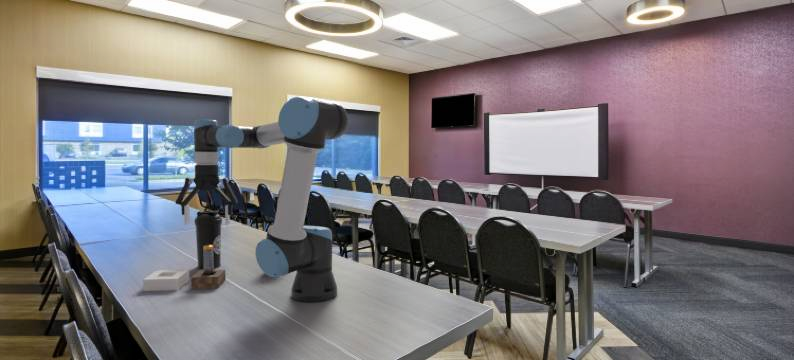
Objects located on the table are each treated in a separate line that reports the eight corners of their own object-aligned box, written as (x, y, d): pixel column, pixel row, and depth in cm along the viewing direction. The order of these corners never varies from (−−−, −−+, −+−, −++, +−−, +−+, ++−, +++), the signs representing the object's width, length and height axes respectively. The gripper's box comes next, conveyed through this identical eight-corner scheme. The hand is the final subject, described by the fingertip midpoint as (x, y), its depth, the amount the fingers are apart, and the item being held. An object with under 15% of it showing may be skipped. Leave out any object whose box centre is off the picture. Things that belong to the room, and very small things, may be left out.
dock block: (189, 280, 154) (189, 269, 154) (177, 290, 143) (177, 278, 143) (157, 280, 153) (157, 270, 153) (143, 291, 142) (143, 279, 142)
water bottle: (216, 269, 168) (215, 212, 166) (190, 269, 168) (189, 212, 166) (226, 263, 178) (225, 209, 176) (202, 262, 178) (201, 208, 176)
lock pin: (214, 282, 152) (214, 244, 151) (212, 285, 149) (211, 246, 148) (205, 283, 151) (205, 244, 150) (202, 285, 148) (202, 246, 147)
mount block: (225, 280, 155) (225, 269, 155) (218, 288, 146) (218, 276, 146) (199, 280, 154) (199, 270, 154) (191, 288, 145) (191, 277, 145)
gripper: (246, 164, 152) (246, 222, 154) (173, 163, 149) (174, 222, 151) (241, 165, 145) (241, 225, 146) (164, 164, 142) (165, 226, 143)
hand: (207, 224), depth 149 cm, fingers open, 13 cm apart
